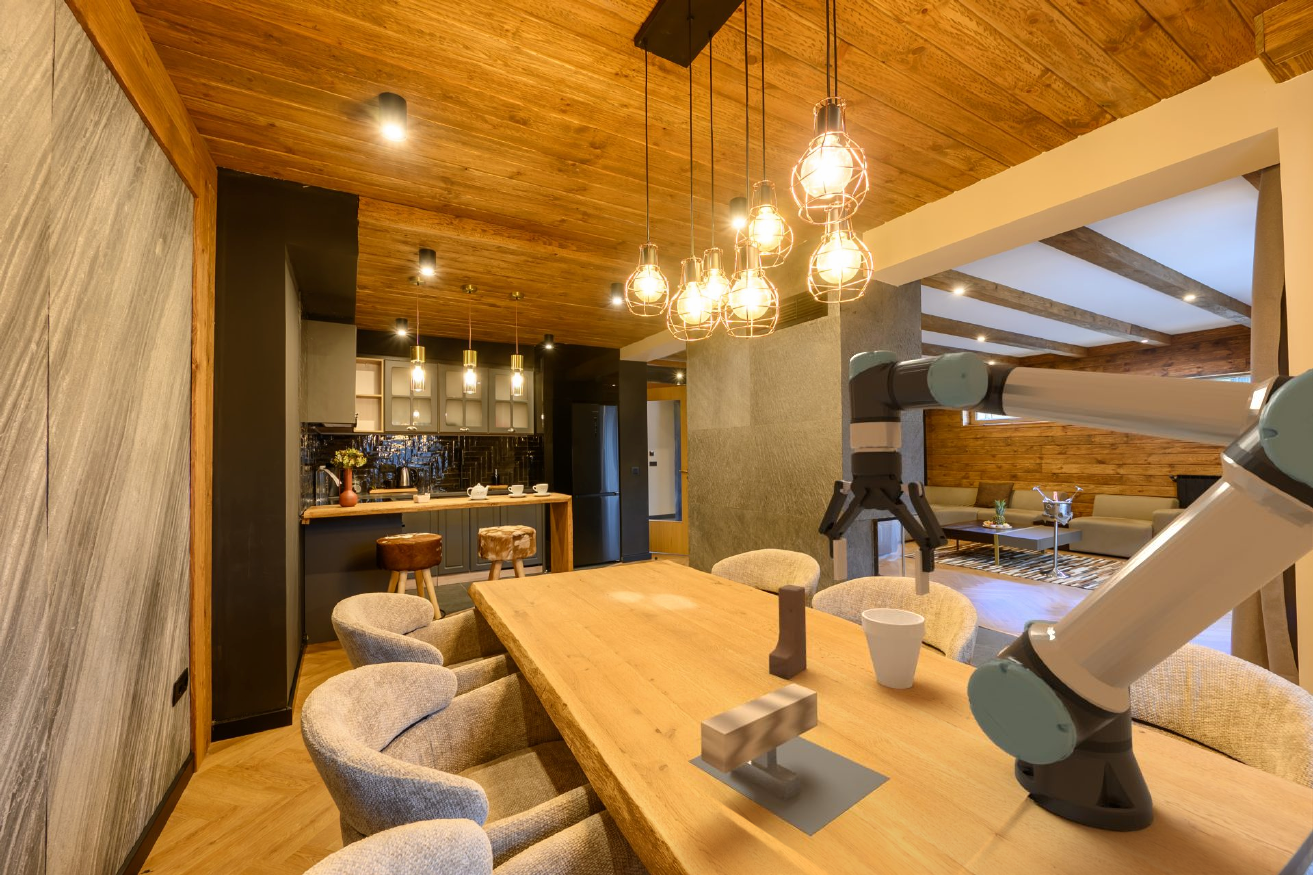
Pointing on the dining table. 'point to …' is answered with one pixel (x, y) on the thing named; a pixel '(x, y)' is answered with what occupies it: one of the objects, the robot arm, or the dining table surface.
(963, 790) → the dining table surface
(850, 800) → the slate board
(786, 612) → the wooden block
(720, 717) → the beech bar
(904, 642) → the cup
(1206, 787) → the dining table surface
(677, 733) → the dining table surface
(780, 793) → the fulcrum ridge
